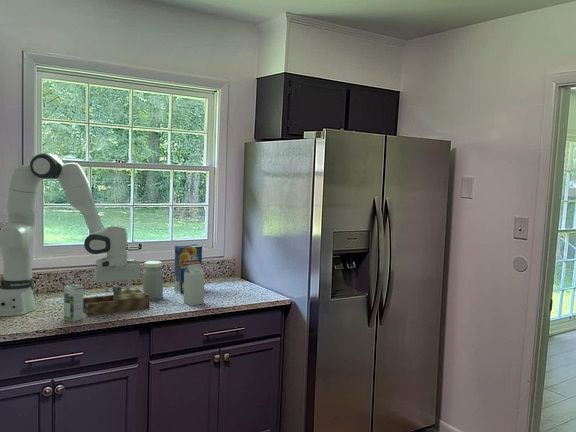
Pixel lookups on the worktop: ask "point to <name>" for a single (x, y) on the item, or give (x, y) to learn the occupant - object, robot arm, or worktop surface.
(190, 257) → the juice carton
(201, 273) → the milk carton
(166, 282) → the worktop surface
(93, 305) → the bay
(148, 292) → the jar
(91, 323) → the worktop surface
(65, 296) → the syrup box
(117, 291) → the drawer
